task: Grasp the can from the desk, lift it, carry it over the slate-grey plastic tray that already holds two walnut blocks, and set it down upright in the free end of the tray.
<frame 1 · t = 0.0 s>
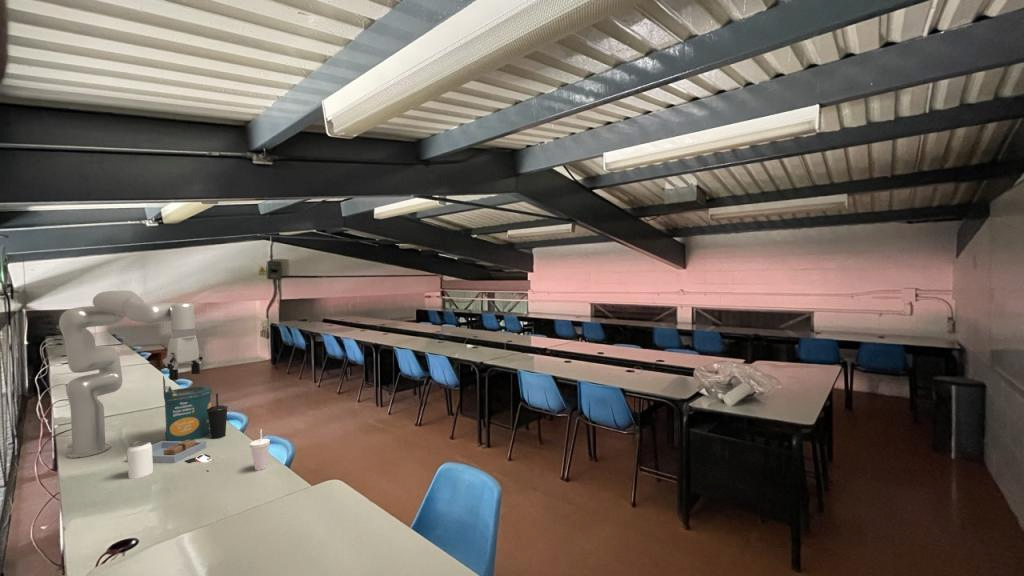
hand: (185, 376, 166), 31 cm above the table, fingers open, 9 cm apart
donation box: (189, 438, 185), on the table
smoothie: (260, 468, 152), on the table
walnut block A: (173, 458, 161), point 1 cm above the table, touching tray
walnut block B: (187, 451, 167), point 1 cm above the table, touching tray
can: (141, 477, 148), on the table
drinking cup: (218, 439, 183), on the table
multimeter: (210, 465, 158), on the table
tray: (168, 457, 164), on the table
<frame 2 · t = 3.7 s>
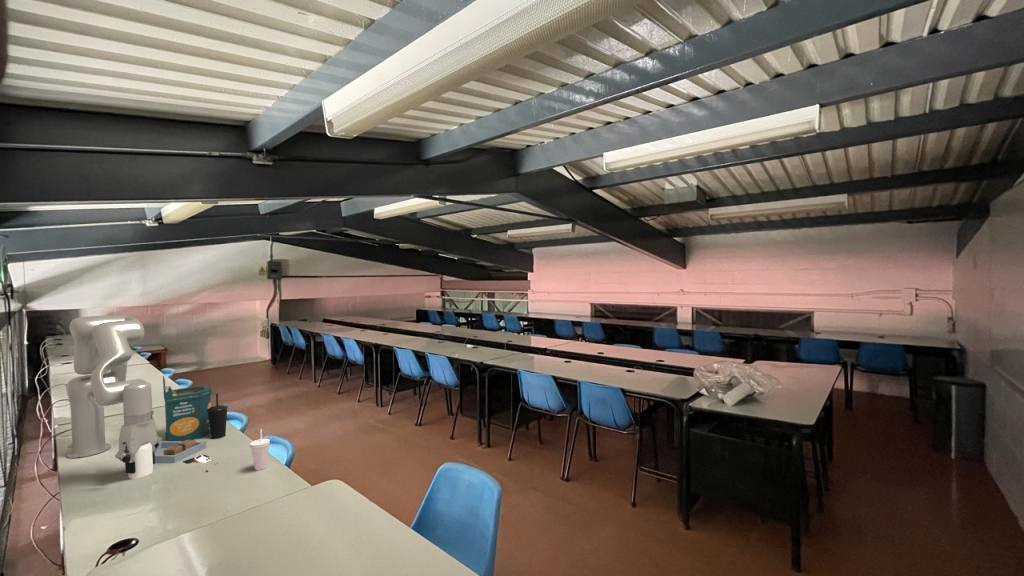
hand: (140, 468, 148), 3 cm above the table, fingers closed on can, 6 cm apart
can: (141, 477, 148), on the table, touching gripper
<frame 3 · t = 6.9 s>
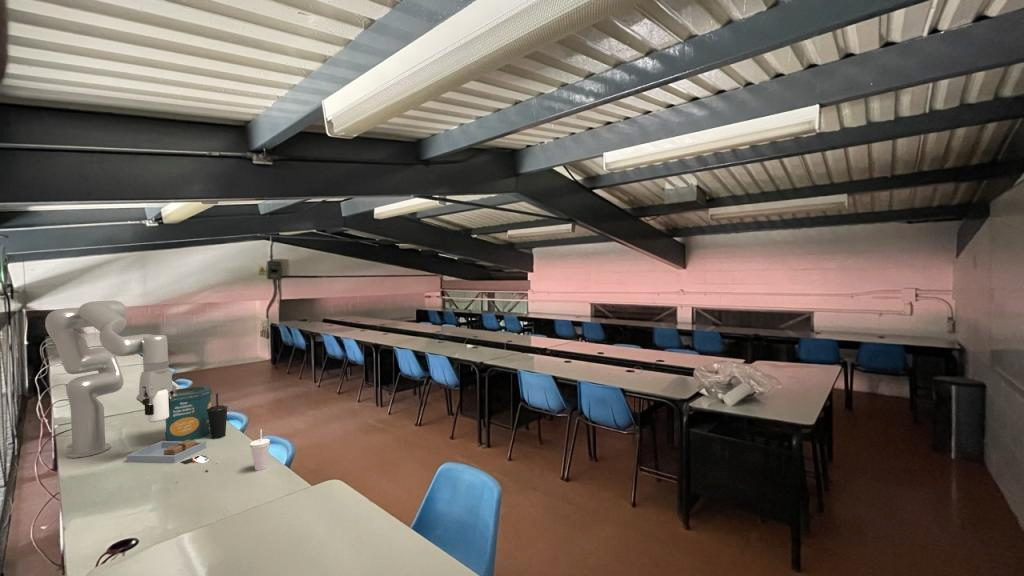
hand: (158, 411, 164), 18 cm above the table, fingers closed on can, 6 cm apart
can: (158, 419, 164), point 15 cm above the table, touching gripper
when the fingers open (5 cm above the table, at t = 9.9 s): can drops 1 cm, resting on tray.
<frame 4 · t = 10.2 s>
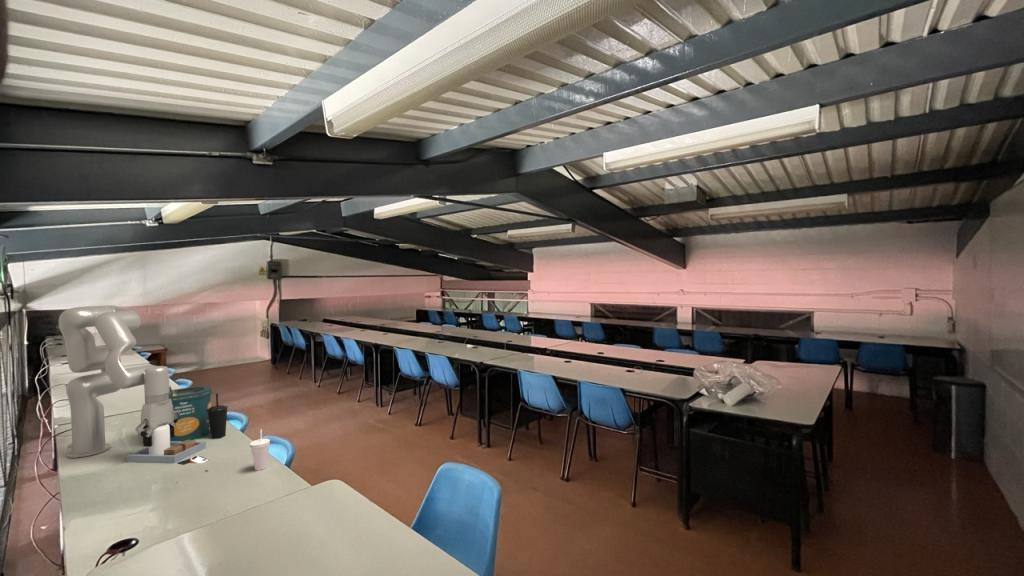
hand: (159, 441, 164), 6 cm above the table, fingers open, 9 cm apart
can: (159, 454, 165), point 1 cm above the table, touching tray
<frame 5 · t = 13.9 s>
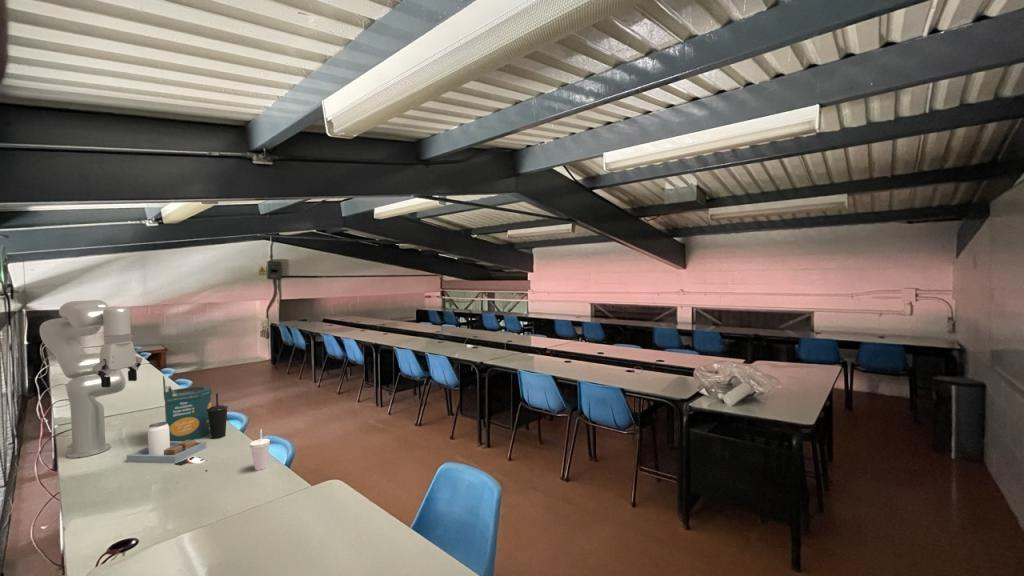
hand: (119, 383, 160), 30 cm above the table, fingers open, 9 cm apart
at the end: can inside the target area on the tray (3.7 cm from its centre), point 0.8 cm above the tray's base; can tilted 0°; the gripper is holding nothing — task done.
